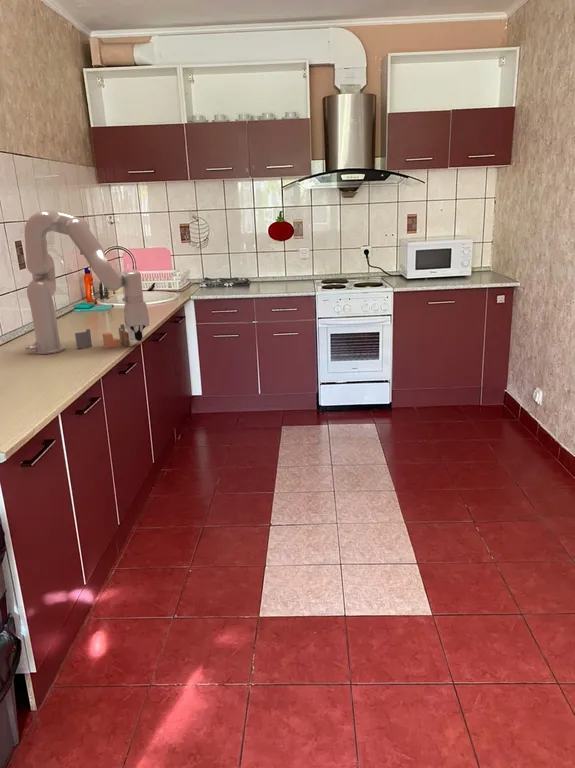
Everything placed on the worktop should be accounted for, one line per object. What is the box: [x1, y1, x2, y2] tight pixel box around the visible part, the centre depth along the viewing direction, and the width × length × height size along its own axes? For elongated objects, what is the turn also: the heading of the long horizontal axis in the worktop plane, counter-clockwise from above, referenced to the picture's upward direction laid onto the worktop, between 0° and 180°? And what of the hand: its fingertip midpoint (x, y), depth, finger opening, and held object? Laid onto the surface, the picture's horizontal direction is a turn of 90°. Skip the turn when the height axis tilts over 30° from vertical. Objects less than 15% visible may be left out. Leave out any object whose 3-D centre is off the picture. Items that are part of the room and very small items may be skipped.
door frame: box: [74, 323, 126, 350], centre depth 266 cm, size 22×2×8 cm, turn 124°
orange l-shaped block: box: [102, 332, 121, 349], centre depth 264 cm, size 6×4×6 cm
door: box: [118, 327, 131, 348], centre depth 266 cm, size 14×1×6 cm, turn 29°
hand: (139, 340), depth 265 cm, fingers closed
